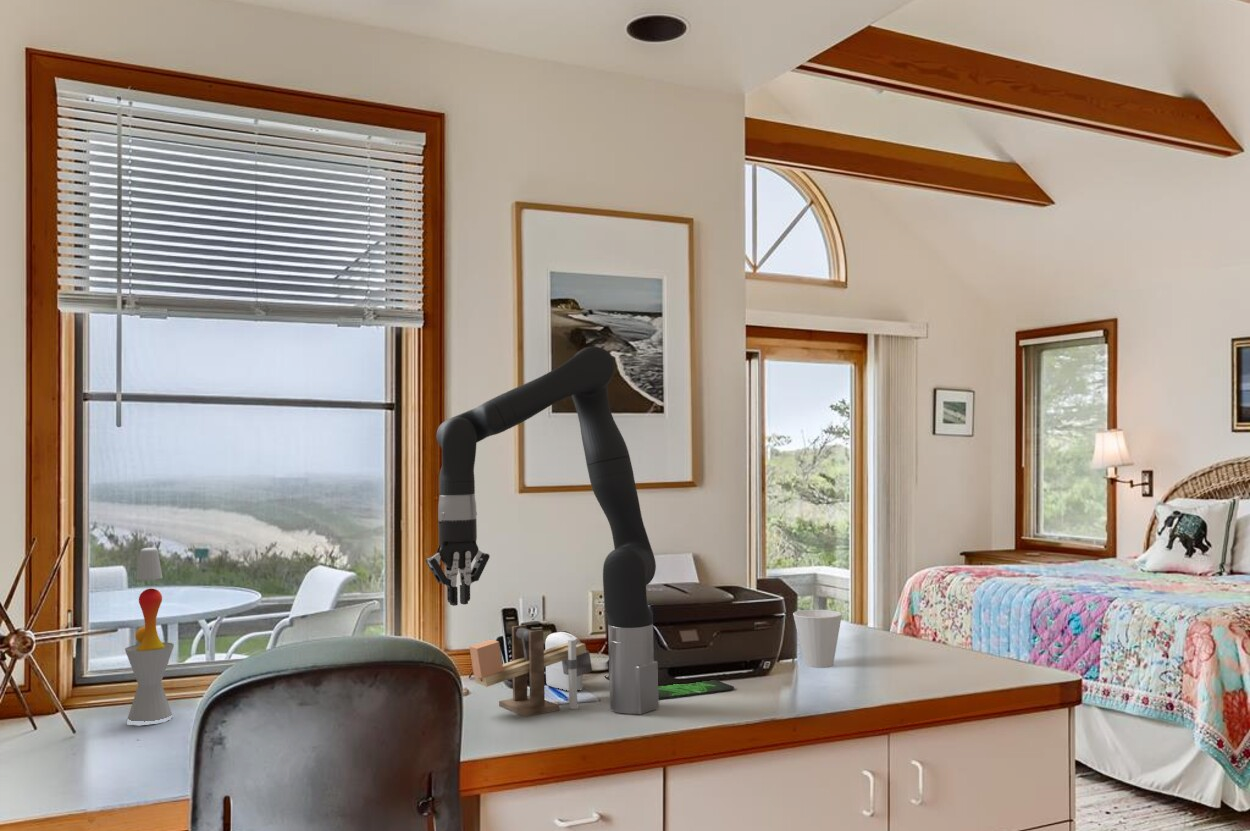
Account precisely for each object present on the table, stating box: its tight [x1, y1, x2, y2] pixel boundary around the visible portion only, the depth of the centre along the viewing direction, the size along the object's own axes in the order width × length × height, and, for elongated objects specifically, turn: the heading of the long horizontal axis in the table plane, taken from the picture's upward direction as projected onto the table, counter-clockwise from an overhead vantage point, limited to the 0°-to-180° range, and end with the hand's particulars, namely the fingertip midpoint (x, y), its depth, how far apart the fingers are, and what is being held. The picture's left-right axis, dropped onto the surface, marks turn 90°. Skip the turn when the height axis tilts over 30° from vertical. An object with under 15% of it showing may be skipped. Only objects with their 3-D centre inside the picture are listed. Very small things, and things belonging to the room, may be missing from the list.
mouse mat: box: [603, 675, 735, 701], centre depth 224 cm, size 27×22×1 cm
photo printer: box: [544, 631, 584, 692], centre depth 222 cm, size 10×4×12 cm, turn 39°
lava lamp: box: [124, 547, 175, 722], centre depth 202 cm, size 9×9×35 cm
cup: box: [792, 609, 843, 669], centre depth 240 cm, size 12×12×12 cm
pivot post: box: [498, 624, 560, 717], centre depth 205 cm, size 8×11×16 cm
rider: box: [469, 639, 504, 681], centre depth 200 cm, size 5×3×7 cm
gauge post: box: [567, 639, 578, 710], centre depth 204 cm, size 2×2×14 cm
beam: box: [474, 627, 593, 688], centre depth 206 cm, size 25×6×12 cm, turn 125°
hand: (458, 604), depth 197 cm, fingers closed
